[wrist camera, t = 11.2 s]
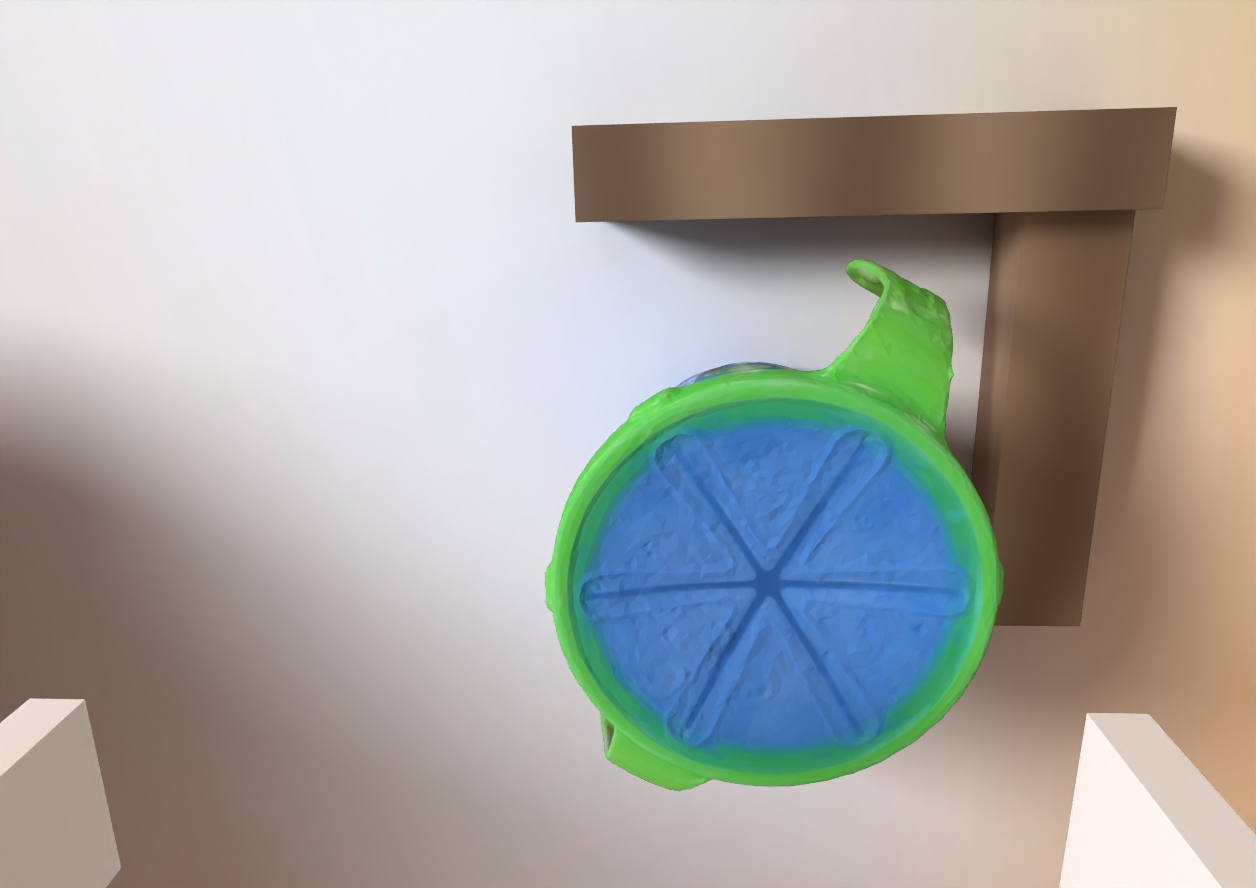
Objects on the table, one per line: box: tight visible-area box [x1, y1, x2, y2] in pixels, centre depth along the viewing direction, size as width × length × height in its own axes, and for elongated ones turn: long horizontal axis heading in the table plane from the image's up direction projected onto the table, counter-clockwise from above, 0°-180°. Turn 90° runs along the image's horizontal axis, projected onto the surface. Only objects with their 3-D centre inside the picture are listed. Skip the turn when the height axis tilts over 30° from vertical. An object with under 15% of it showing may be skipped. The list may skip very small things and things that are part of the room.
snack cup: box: [545, 259, 1004, 791], centre depth 26 cm, size 16×10×10 cm
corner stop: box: [572, 107, 1177, 626], centre depth 28 cm, size 16×16×4 cm
